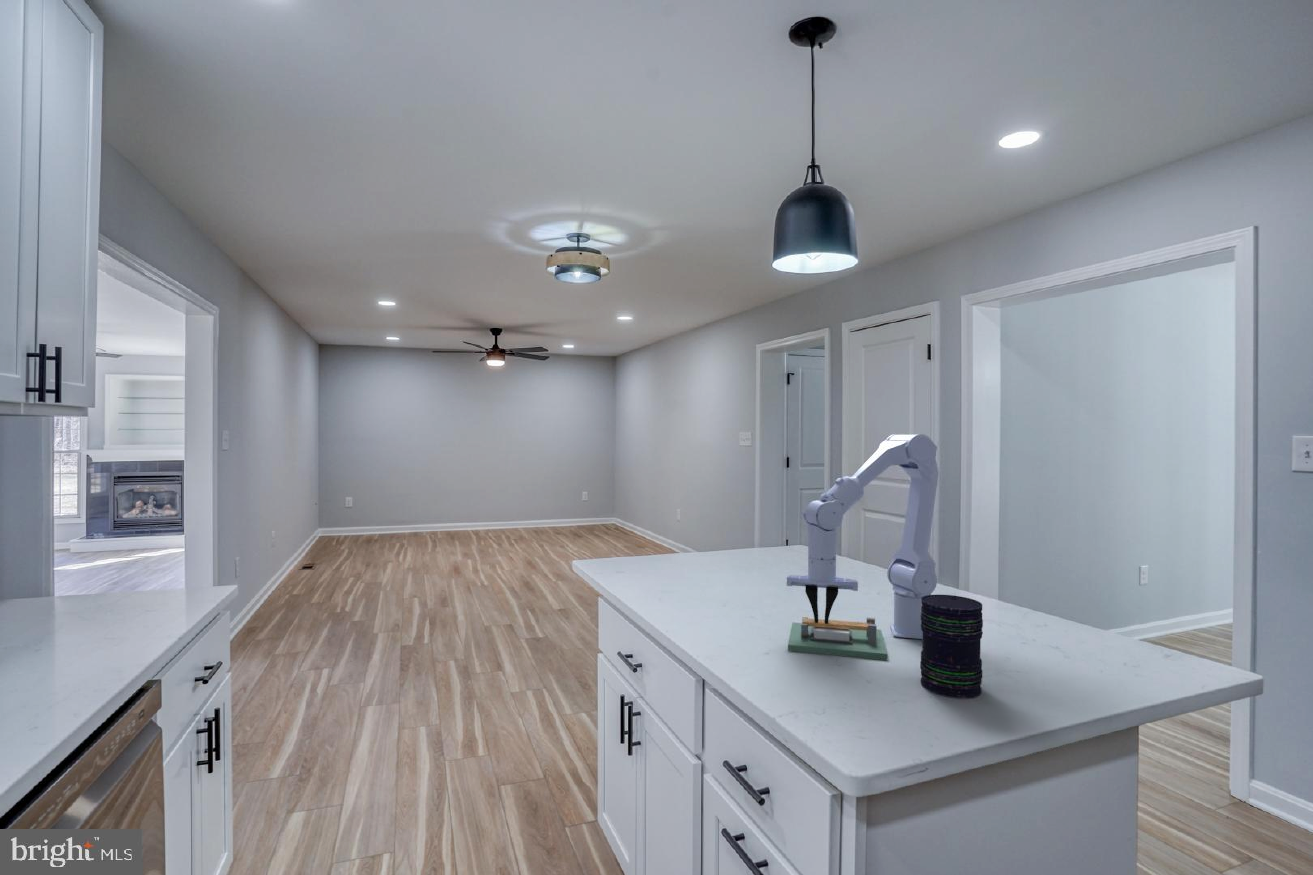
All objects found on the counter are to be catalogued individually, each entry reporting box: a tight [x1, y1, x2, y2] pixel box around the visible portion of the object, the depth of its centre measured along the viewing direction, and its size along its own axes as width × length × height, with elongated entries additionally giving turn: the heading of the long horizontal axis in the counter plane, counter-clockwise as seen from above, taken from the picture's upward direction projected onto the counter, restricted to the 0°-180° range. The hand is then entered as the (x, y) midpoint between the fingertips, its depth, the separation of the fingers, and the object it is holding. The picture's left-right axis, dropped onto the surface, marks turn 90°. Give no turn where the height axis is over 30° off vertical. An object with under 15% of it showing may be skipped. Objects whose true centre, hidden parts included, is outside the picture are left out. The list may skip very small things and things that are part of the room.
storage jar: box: [919, 594, 984, 700], centre depth 111 cm, size 10×10×15 cm
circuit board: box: [787, 616, 888, 661], centre depth 134 cm, size 19×16×5 cm
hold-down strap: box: [801, 617, 873, 631], centre depth 134 cm, size 15×3×2 cm, turn 75°
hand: (821, 621), depth 135 cm, fingers closed on hold-down strap
